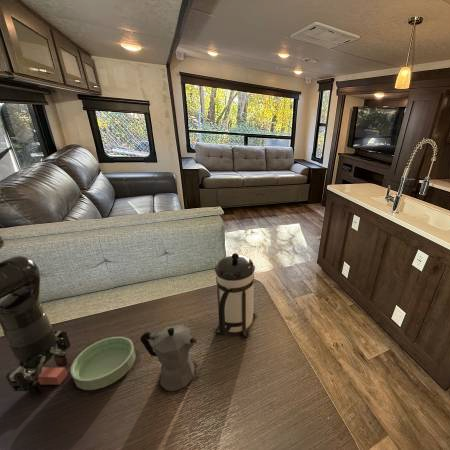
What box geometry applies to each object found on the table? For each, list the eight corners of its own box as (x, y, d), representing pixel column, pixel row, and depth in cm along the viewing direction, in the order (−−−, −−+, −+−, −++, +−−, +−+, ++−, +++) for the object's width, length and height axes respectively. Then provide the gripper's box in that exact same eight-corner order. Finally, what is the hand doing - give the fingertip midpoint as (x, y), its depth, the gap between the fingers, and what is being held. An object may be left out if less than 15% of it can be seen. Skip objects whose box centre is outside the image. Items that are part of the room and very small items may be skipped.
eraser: (35, 384, 66) (31, 376, 65) (45, 374, 69) (41, 367, 68) (59, 384, 67) (56, 377, 65) (68, 374, 69) (65, 367, 68)
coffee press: (207, 319, 92) (201, 248, 81) (247, 305, 101) (247, 239, 89) (221, 354, 79) (217, 276, 68) (266, 335, 88) (269, 263, 76)
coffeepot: (207, 364, 76) (203, 319, 69) (192, 395, 67) (186, 347, 60) (158, 358, 76) (149, 312, 69) (137, 388, 67) (125, 339, 60)
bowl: (60, 391, 65) (55, 380, 63) (99, 346, 78) (95, 335, 76) (116, 392, 66) (113, 381, 64) (145, 347, 79) (143, 337, 77)
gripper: (41, 311, 67) (58, 354, 74) (-20, 358, 54) (8, 406, 60) (70, 312, 68) (85, 355, 74) (16, 359, 55) (40, 406, 61)
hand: (50, 378), depth 67 cm, fingers open, 7 cm apart
